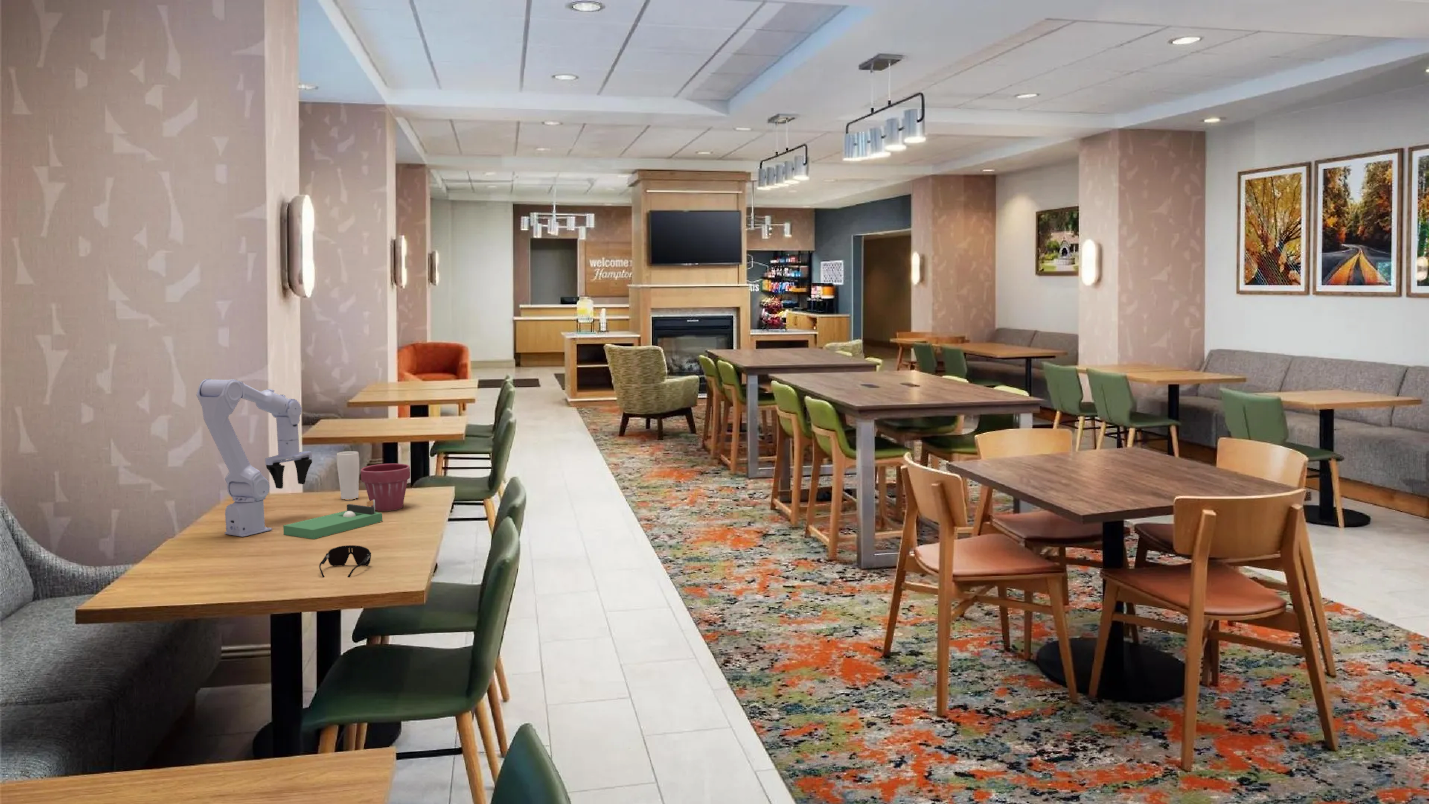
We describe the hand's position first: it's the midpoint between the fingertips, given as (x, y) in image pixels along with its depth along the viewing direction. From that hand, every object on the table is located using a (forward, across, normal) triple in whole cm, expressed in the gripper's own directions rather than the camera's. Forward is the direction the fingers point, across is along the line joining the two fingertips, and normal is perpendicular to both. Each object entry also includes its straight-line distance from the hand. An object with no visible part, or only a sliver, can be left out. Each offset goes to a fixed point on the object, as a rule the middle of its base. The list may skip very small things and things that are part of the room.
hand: (290, 486), depth 301 cm
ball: (+8, +4, -19) cm, 21 cm away
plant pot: (+10, +24, -13) cm, 29 cm away
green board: (+10, -2, -20) cm, 22 cm away
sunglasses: (+10, -33, -59) cm, 68 cm away
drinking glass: (+10, +29, +9) cm, 32 cm away
